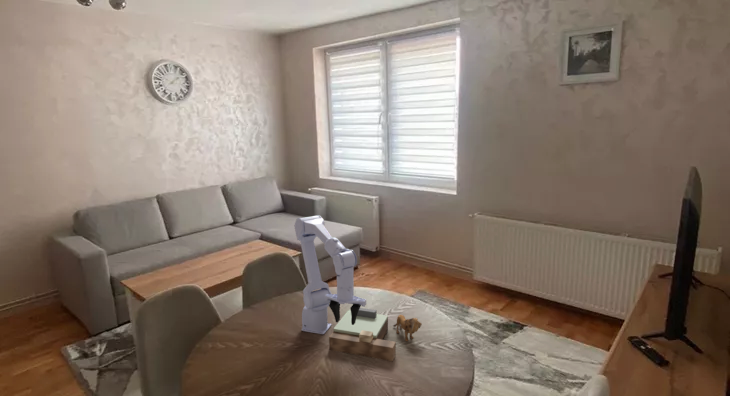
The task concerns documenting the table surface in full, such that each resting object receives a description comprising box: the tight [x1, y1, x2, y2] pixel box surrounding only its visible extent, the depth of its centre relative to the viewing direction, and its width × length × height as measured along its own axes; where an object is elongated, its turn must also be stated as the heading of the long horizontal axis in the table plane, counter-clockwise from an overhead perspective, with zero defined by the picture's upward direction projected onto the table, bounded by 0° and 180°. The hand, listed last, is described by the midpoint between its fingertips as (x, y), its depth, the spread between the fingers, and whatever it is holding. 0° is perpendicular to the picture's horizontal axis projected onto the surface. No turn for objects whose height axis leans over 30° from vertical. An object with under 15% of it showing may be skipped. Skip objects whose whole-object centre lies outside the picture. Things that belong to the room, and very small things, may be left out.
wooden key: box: [359, 330, 373, 343], centre depth 144 cm, size 4×3×2 cm
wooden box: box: [328, 318, 397, 362], centre depth 153 cm, size 23×20×5 cm
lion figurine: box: [392, 314, 422, 342], centre depth 157 cm, size 15×5×9 cm, turn 34°
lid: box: [332, 307, 389, 338], centre depth 155 cm, size 16×16×4 cm
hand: (345, 322), depth 146 cm, fingers open, 5 cm apart
